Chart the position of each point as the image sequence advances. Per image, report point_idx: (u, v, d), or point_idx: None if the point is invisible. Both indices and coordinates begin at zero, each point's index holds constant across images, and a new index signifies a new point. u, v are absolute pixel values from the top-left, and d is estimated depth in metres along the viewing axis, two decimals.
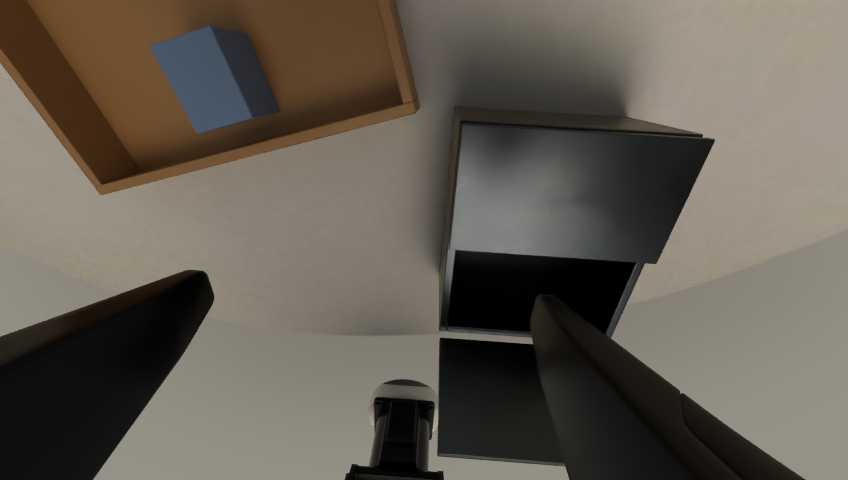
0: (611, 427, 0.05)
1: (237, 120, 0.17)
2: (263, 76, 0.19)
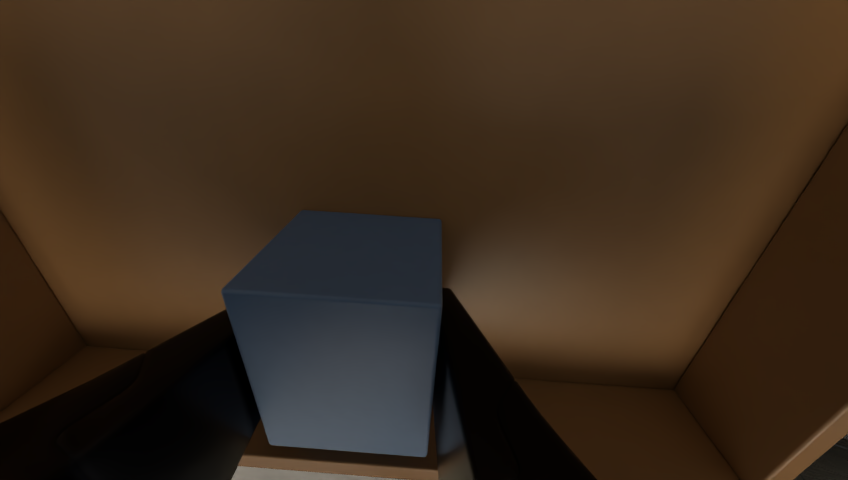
0: (448, 415, 0.05)
1: (386, 453, 0.07)
2: None
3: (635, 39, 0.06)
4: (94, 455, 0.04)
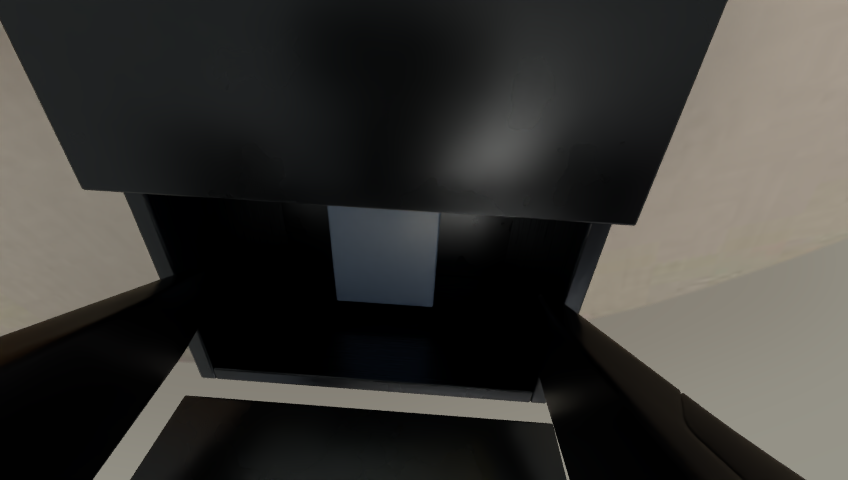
0: (611, 427, 0.05)
1: (408, 304, 0.12)
2: None
3: None
4: None
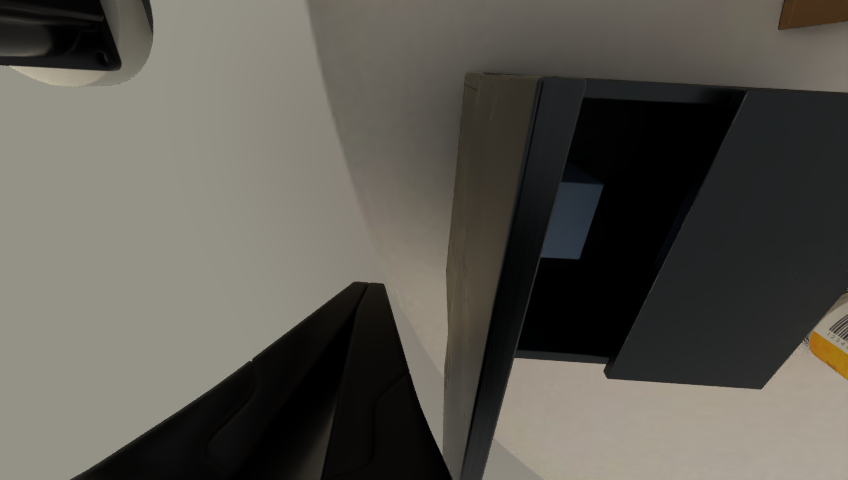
0: None
1: None
2: None
3: None
4: (239, 467, 0.04)
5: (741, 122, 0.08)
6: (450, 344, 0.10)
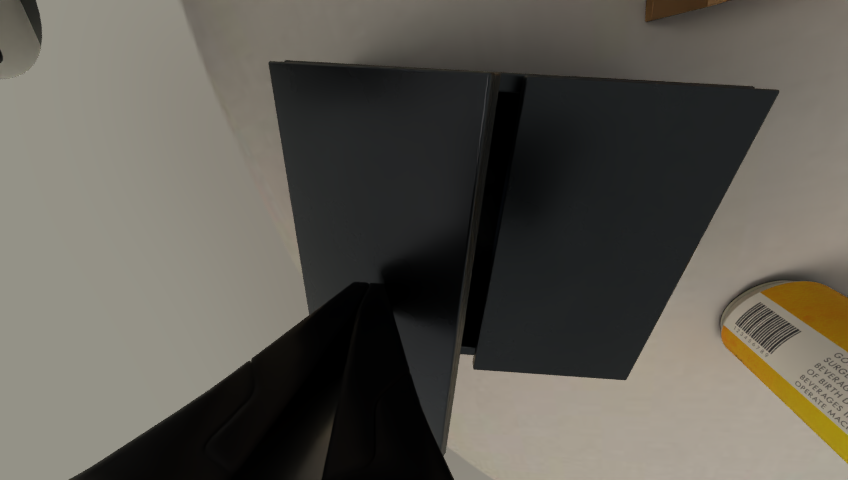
0: None
1: None
2: None
3: None
4: (238, 466, 0.04)
5: (529, 109, 0.08)
6: None
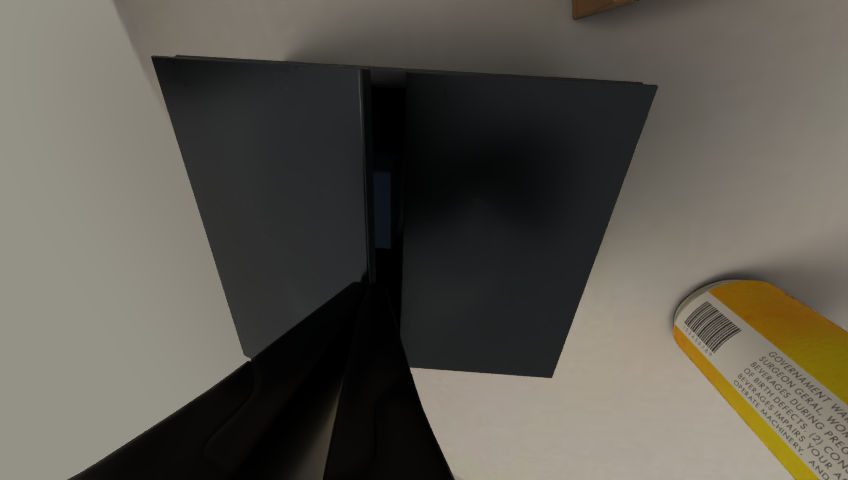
0: None
1: None
2: None
3: None
4: (237, 466, 0.04)
5: (413, 104, 0.08)
6: (257, 314, 0.11)
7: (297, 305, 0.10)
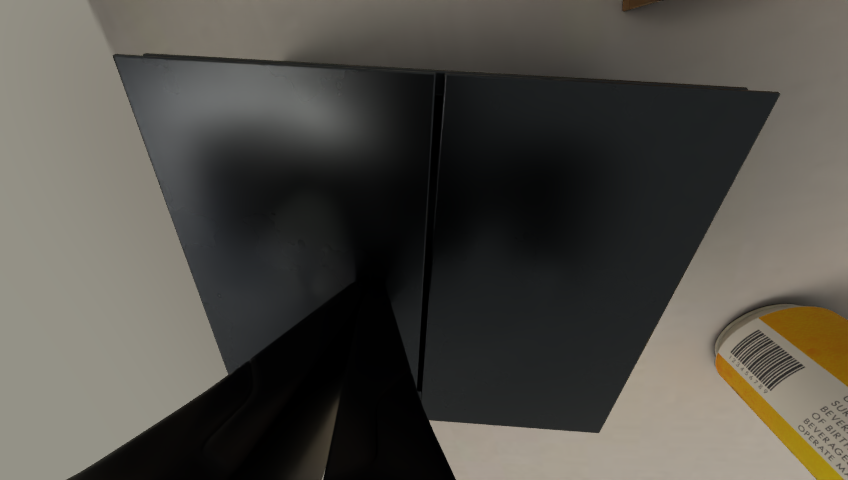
0: None
1: None
2: None
3: None
4: (236, 467, 0.04)
5: (452, 117, 0.06)
6: None
7: None
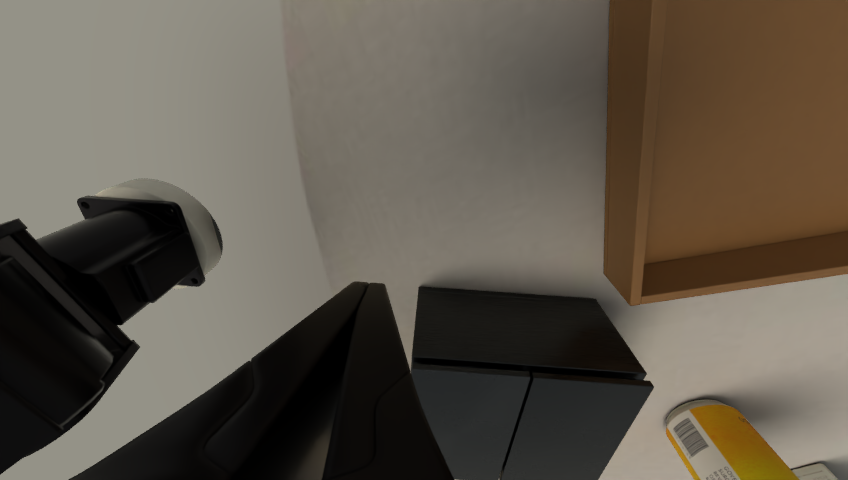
0: None
1: None
2: None
3: (803, 168, 0.17)
4: (237, 466, 0.04)
5: (535, 388, 0.17)
6: None
7: (465, 446, 0.20)
